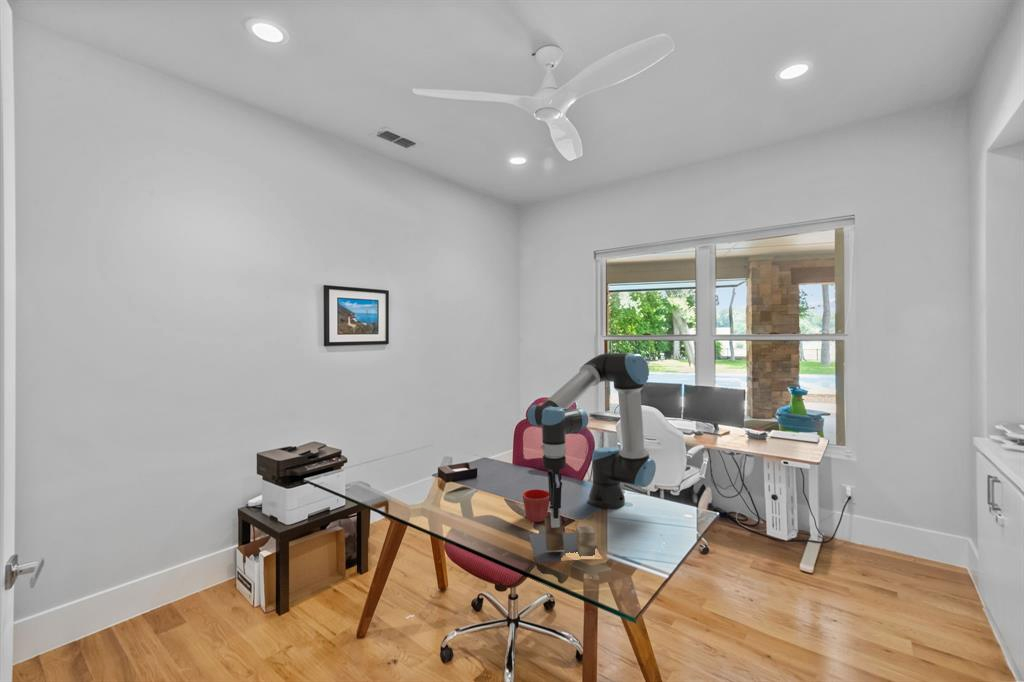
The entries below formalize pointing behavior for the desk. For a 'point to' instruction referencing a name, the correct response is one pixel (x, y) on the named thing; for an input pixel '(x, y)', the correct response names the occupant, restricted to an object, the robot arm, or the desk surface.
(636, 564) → the desk surface
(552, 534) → the grey brown block
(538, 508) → the flower pot
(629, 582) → the desk surface
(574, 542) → the mat
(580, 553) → the grey beige upright block
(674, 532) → the desk surface
